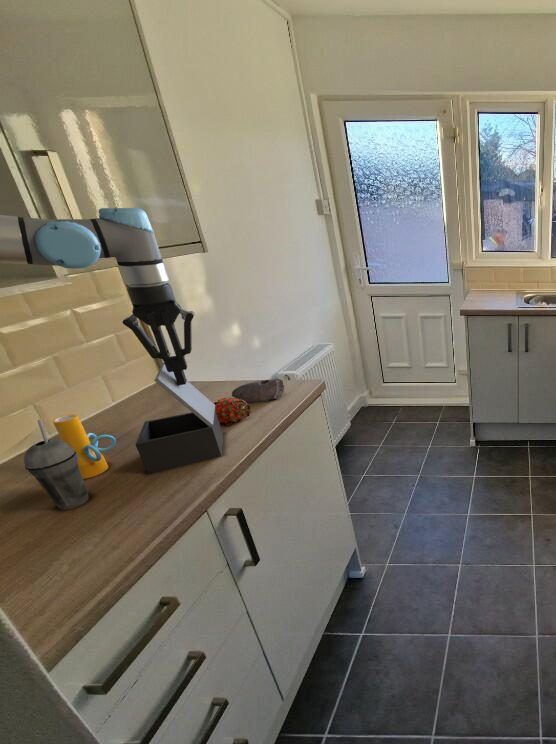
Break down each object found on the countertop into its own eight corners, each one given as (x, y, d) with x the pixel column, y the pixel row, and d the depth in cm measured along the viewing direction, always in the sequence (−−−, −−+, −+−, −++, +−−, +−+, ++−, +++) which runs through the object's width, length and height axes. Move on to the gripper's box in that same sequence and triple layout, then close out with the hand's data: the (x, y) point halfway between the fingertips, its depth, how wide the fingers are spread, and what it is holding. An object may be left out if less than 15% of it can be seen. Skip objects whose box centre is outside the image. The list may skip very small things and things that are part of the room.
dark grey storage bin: (148, 476, 98) (135, 444, 94) (156, 451, 107) (144, 421, 104) (222, 458, 104) (212, 427, 101) (223, 436, 114) (214, 407, 111)
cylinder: (80, 463, 102) (53, 409, 96) (131, 456, 105) (108, 403, 99) (47, 493, 92) (14, 435, 86) (104, 484, 95) (76, 427, 88)
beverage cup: (41, 514, 86) (-8, 430, 78) (80, 492, 92) (39, 412, 84) (69, 518, 84) (22, 433, 76) (107, 495, 91) (68, 415, 83)
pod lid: (154, 380, 92) (157, 378, 92) (162, 363, 102) (165, 361, 102) (209, 427, 101) (213, 424, 101) (212, 407, 110) (215, 405, 111)
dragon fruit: (258, 424, 123) (213, 436, 120) (256, 400, 127) (212, 411, 124) (245, 412, 116) (197, 425, 113) (242, 387, 120) (196, 398, 117)
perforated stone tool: (231, 408, 130) (225, 387, 127) (236, 401, 135) (230, 381, 132) (284, 401, 134) (279, 382, 131) (287, 395, 139) (282, 376, 136)
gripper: (186, 279, 97) (215, 372, 106) (113, 284, 90) (150, 383, 100) (183, 284, 91) (214, 382, 100) (104, 289, 84) (145, 394, 94)
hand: (182, 382), depth 100 cm, fingers closed
